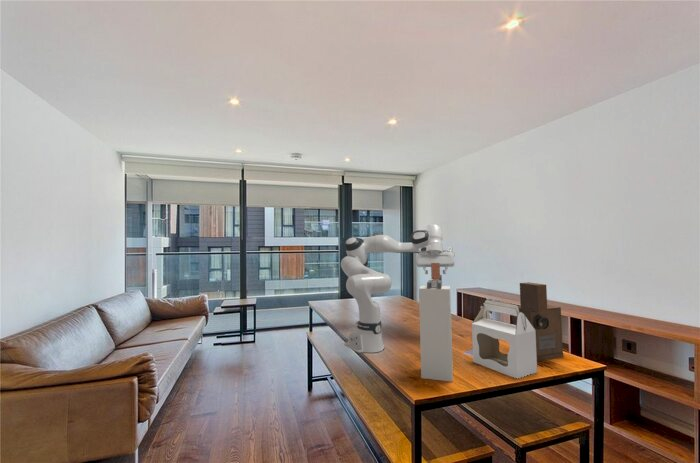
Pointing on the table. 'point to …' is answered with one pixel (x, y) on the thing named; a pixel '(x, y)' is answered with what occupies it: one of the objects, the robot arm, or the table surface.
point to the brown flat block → (435, 274)
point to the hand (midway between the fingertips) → (435, 273)
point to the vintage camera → (542, 320)
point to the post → (435, 332)
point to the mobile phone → (469, 352)
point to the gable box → (518, 336)
